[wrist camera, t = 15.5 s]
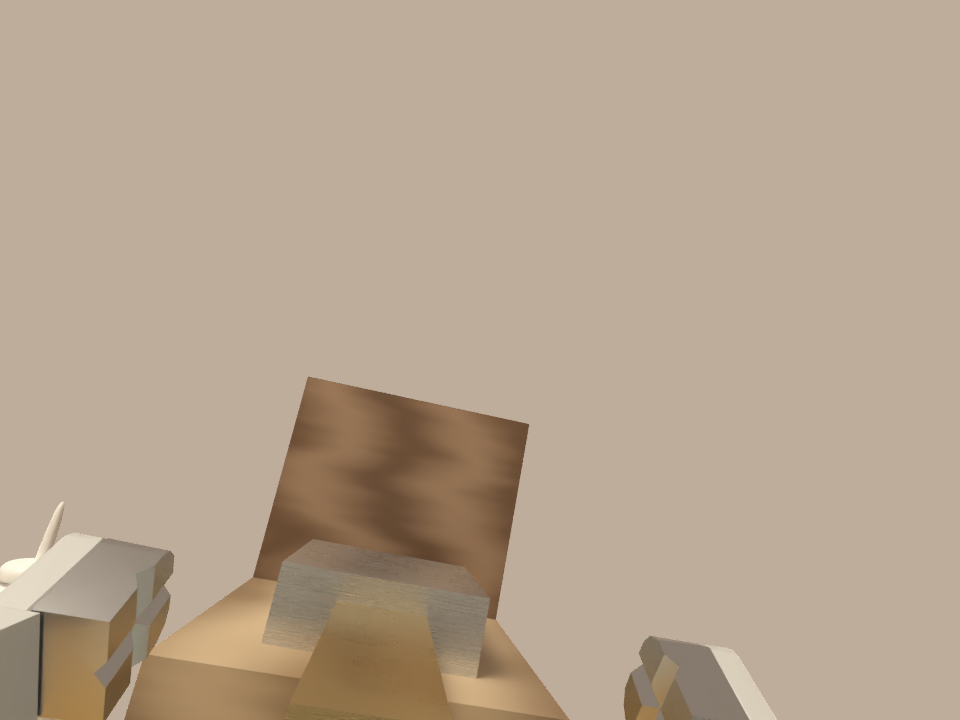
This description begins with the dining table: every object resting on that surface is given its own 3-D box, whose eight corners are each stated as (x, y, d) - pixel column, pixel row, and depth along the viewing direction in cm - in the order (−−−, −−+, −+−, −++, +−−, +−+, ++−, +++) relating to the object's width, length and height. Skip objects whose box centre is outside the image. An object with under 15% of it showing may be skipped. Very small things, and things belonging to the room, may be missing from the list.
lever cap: (143, 790, 9) (189, 630, 10) (297, 597, 24) (312, 538, 25) (544, 843, 10) (565, 691, 11) (453, 624, 25) (464, 567, 26)
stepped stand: (-121, 1515, 11) (251, 307, 17) (210, 844, 31) (327, 400, 37) (461, 1513, 12) (615, 389, 18) (418, 870, 33) (498, 436, 39)
